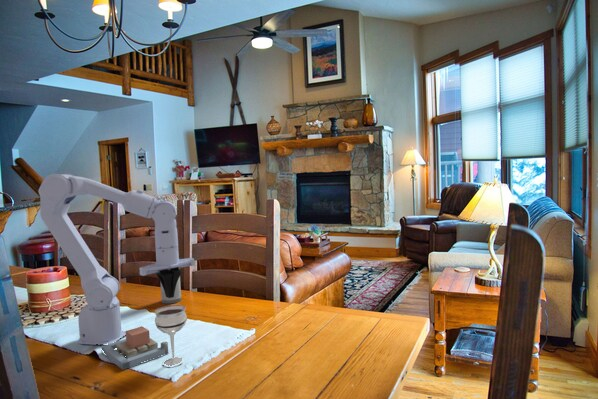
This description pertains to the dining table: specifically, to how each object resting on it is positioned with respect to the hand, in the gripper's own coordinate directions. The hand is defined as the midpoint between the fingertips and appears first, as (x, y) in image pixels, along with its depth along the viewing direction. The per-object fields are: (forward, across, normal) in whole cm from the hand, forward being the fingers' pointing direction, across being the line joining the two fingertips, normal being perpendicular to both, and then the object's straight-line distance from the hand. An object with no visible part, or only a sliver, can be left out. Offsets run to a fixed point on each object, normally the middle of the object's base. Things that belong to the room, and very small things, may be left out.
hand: (169, 296), depth 108 cm
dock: (+9, -12, -6) cm, 16 cm away
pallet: (+10, -12, -6) cm, 16 cm away
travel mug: (+10, +12, +25) cm, 29 cm away
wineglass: (+10, -8, -18) cm, 22 cm away
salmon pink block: (+7, -11, -6) cm, 15 cm away
